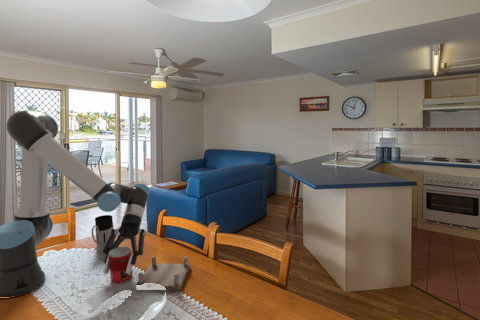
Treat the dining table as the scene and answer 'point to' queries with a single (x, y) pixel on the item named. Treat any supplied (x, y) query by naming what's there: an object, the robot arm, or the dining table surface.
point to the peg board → (166, 274)
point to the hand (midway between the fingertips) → (116, 273)
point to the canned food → (119, 264)
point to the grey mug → (102, 230)
